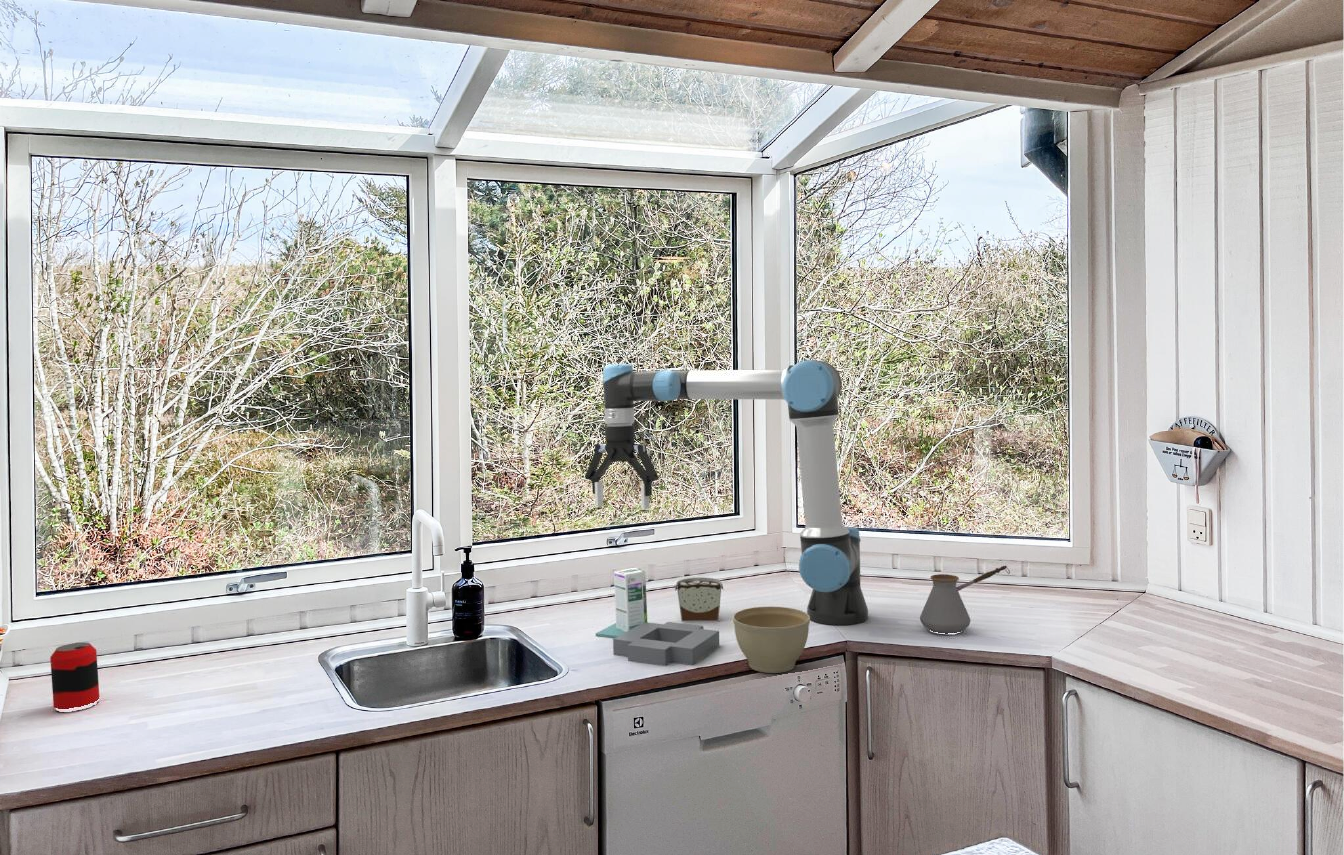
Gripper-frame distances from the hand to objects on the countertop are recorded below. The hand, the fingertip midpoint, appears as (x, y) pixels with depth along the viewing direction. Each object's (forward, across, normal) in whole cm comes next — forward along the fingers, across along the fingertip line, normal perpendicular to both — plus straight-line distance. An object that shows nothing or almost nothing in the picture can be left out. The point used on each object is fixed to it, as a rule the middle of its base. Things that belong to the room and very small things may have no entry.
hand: (622, 508), depth 228 cm
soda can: (+29, -71, -95) cm, 122 cm away
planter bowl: (+29, +48, -22) cm, 60 cm away
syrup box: (+28, +7, -10) cm, 31 cm away
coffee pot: (+29, +81, +20) cm, 88 cm away
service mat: (+29, +7, -10) cm, 31 cm away
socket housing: (+29, +22, -20) cm, 41 cm away
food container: (+29, +18, +7) cm, 35 cm away
